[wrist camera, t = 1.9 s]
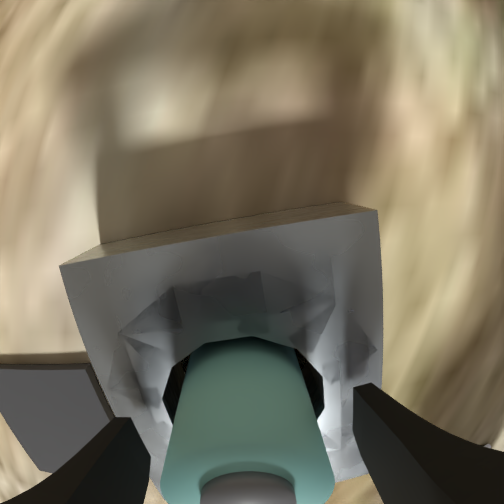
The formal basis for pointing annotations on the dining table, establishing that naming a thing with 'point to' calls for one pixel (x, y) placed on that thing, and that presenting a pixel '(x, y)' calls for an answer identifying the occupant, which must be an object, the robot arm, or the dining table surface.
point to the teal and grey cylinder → (245, 430)
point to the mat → (52, 409)
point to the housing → (236, 312)
